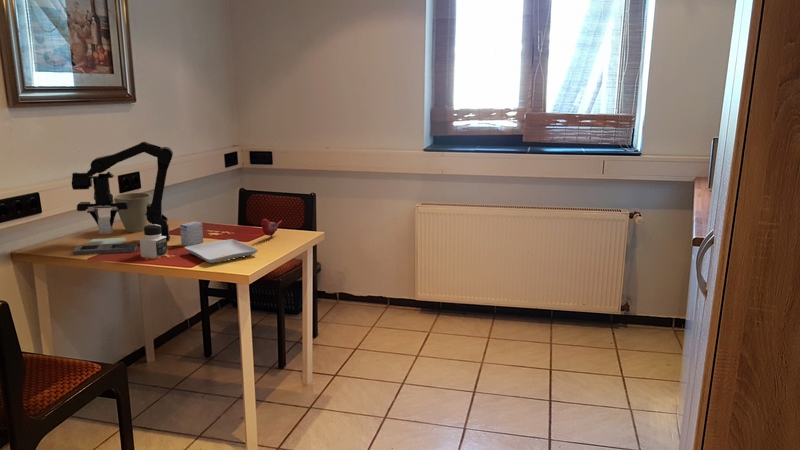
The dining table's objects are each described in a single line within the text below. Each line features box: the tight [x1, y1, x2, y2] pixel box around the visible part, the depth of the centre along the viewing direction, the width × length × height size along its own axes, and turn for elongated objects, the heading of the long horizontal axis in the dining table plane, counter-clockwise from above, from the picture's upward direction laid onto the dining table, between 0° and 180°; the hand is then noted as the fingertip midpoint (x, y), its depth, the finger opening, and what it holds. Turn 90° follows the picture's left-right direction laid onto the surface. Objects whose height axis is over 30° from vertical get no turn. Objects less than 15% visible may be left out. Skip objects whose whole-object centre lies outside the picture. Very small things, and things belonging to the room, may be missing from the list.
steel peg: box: [97, 216, 114, 235], centre depth 243 cm, size 4×4×6 cm
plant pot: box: [113, 192, 151, 233], centre depth 263 cm, size 15×15×16 cm
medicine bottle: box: [139, 223, 169, 259], centre depth 227 cm, size 7×7×12 cm
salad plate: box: [183, 238, 259, 264], centre depth 230 cm, size 21×21×3 cm
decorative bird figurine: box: [260, 218, 283, 241], centre depth 256 cm, size 3×18×10 cm, turn 161°
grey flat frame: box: [72, 241, 139, 256], centre depth 234 cm, size 22×9×2 cm, turn 106°
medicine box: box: [179, 221, 204, 247], centre depth 245 cm, size 8×4×9 cm, turn 149°
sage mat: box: [87, 237, 127, 245], centre depth 244 cm, size 13×10×1 cm
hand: (105, 226), depth 243 cm, fingers closed on steel peg, 4 cm apart
